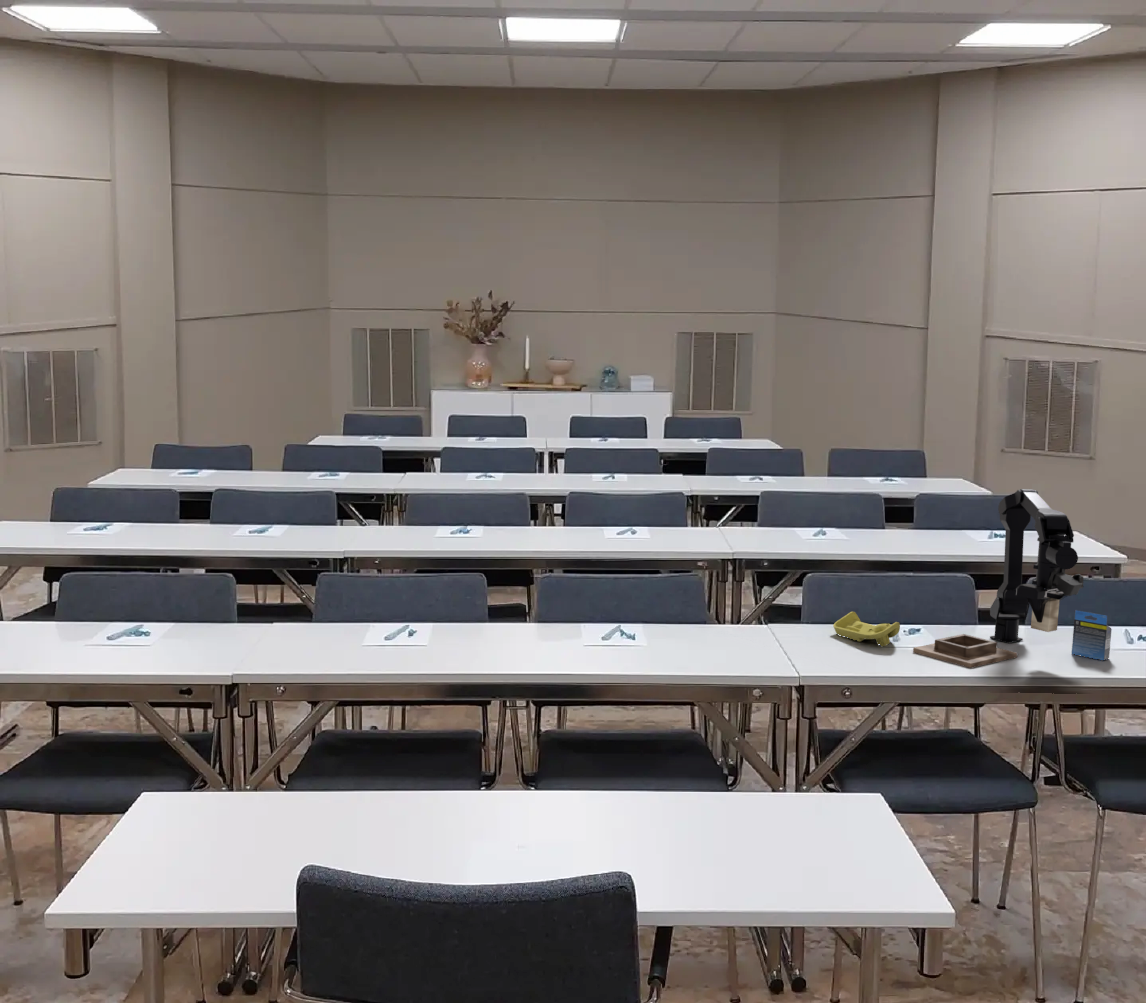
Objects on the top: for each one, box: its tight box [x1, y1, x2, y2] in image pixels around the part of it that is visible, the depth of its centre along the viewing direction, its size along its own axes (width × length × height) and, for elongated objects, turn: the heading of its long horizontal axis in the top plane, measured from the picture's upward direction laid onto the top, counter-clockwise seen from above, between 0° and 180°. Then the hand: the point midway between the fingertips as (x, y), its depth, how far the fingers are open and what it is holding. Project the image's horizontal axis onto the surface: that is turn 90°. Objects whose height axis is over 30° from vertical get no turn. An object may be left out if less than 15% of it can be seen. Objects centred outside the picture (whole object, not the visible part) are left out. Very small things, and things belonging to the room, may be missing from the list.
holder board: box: [912, 633, 1018, 669], centre depth 339 cm, size 20×18×4 cm
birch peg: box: [1030, 597, 1061, 633], centre depth 331 cm, size 4×5×8 cm
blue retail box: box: [1071, 609, 1112, 661], centre depth 340 cm, size 9×4×12 cm, turn 45°
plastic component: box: [832, 611, 901, 647], centre depth 351 cm, size 20×7×10 cm
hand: (1044, 621), depth 331 cm, fingers closed on birch peg, 4 cm apart
